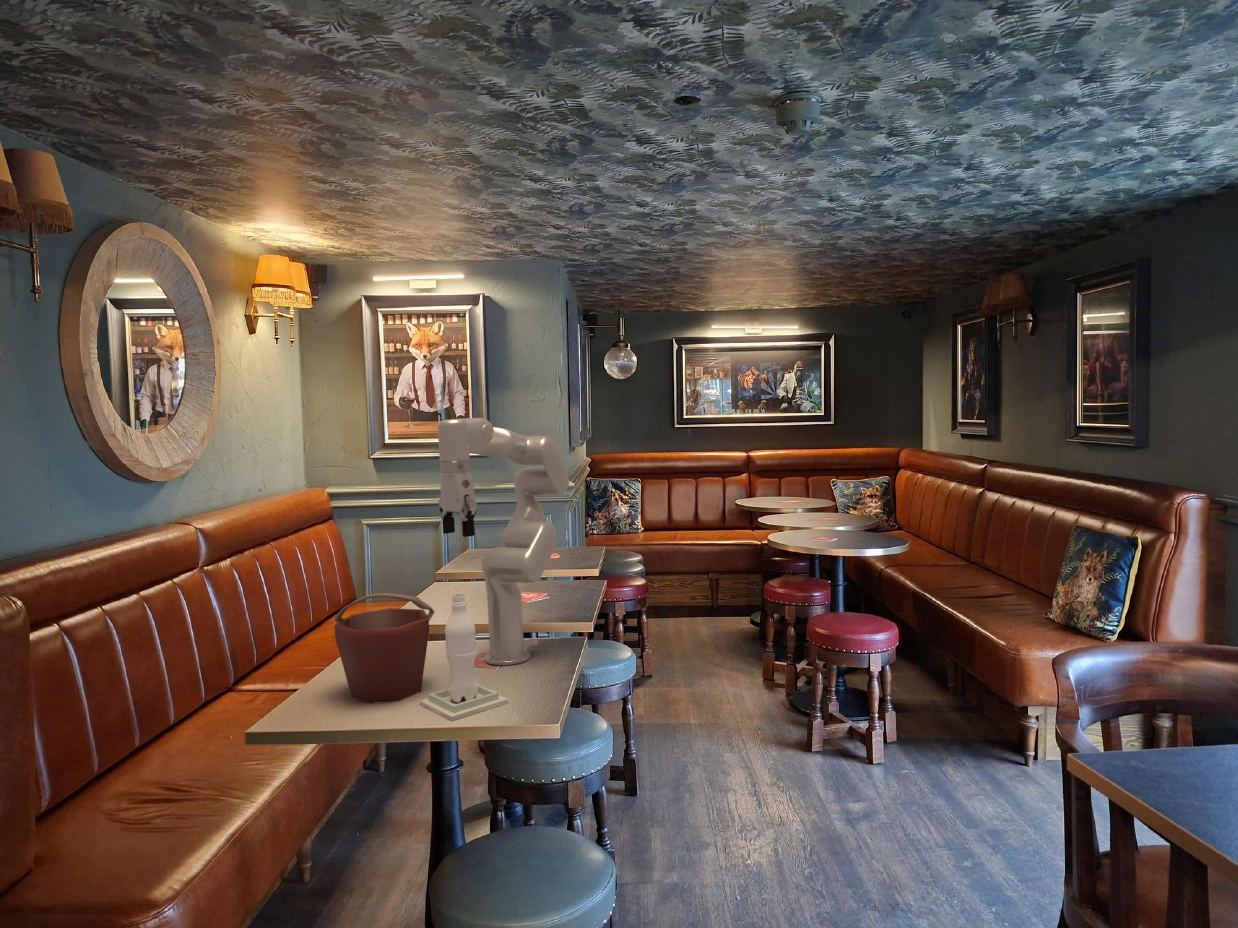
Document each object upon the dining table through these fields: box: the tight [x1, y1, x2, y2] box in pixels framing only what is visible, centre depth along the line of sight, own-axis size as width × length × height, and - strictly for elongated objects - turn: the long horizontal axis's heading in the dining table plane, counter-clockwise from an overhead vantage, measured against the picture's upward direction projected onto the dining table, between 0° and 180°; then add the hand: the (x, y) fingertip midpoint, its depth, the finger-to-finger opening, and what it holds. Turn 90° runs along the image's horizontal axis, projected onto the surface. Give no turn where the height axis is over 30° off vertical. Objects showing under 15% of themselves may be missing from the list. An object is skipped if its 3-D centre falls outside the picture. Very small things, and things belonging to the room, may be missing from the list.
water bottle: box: [444, 593, 479, 703], centre depth 188 cm, size 7×7×25 cm
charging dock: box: [419, 683, 509, 722], centre depth 188 cm, size 15×15×2 cm
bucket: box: [333, 592, 436, 704], centre depth 198 cm, size 24×22×25 cm
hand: (458, 534), depth 202 cm, fingers open, 9 cm apart
